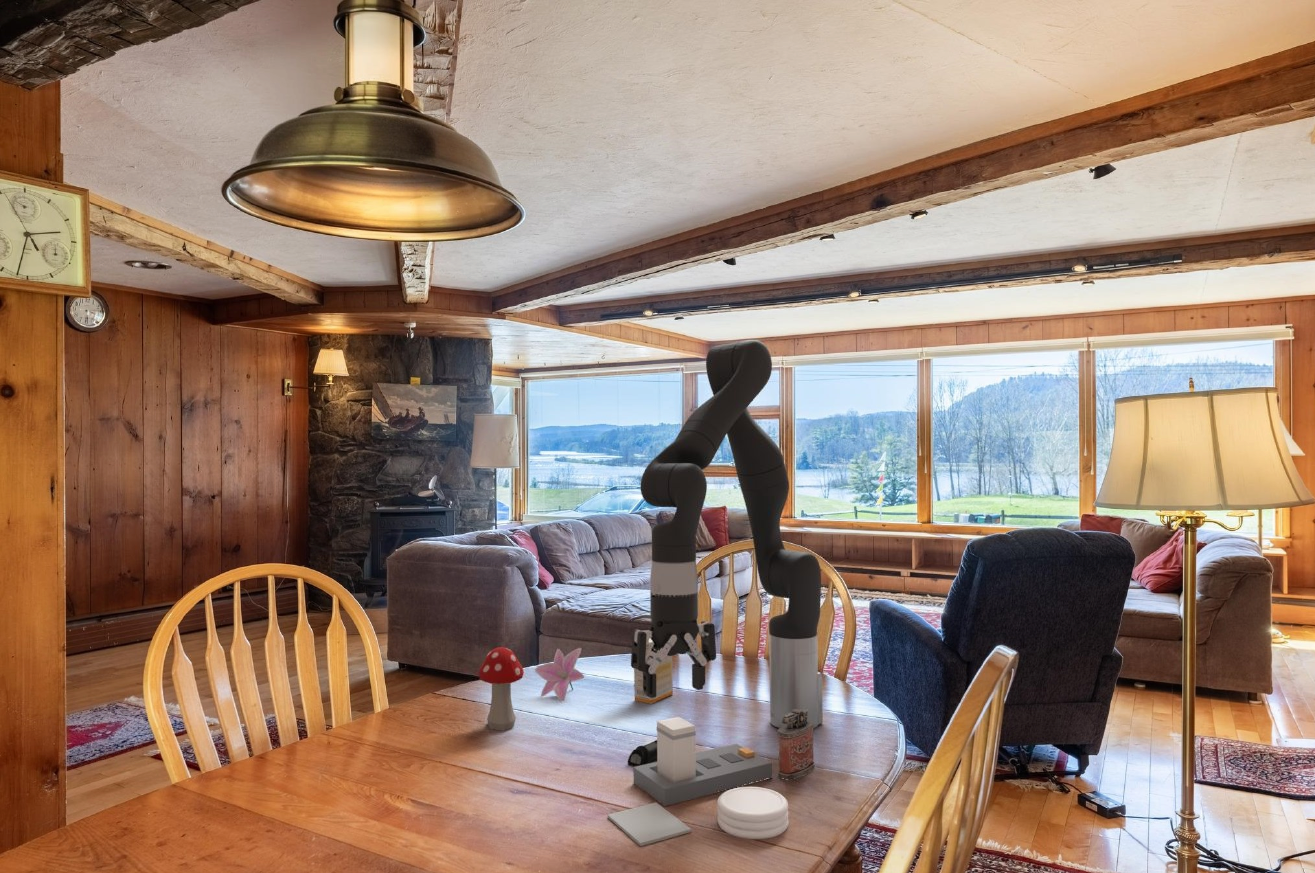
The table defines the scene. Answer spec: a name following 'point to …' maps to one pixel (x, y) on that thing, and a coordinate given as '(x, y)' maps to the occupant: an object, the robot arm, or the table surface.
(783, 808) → the white short cylinder
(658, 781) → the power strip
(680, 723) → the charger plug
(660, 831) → the rubber mat
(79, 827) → the table surface
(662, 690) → the supplement box
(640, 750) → the electric trimmer
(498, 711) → the decorative mushroom
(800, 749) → the lighter
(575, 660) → the lily
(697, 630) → the robot arm
